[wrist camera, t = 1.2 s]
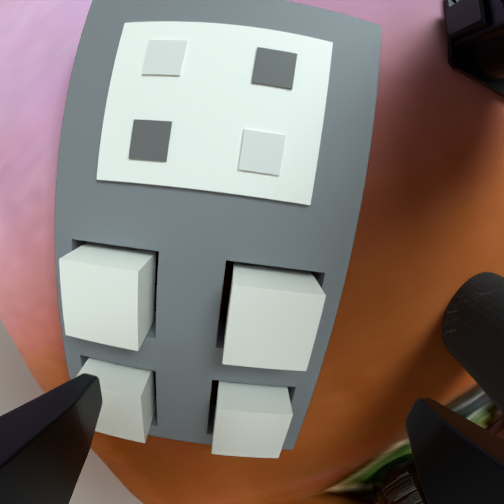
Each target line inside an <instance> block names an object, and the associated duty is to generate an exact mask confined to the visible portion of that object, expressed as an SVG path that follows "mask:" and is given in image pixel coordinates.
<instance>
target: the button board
mask: <svg viewBox="0 0 504 504" xmlns="http://www.w3.org/2000/svg"><path fill="white" fill-rule="evenodd" d="M380 46H381V26H380V25H377V24H374V23H371V22H368V21H365V20H362V19H359V18H355V17H352V16H349V15H345V14H342V13H338V12H334V11H330V10H326V9H322V8H318V7H314V6H309V5H304V4H300V3H295V2H289V1H284V0H93V1H92V4H91V6H90V9H89V12H88V15H87V18H86V22H85V25H84V28H83V31H82V35H81V38H80V42H79V46H78V49H77V53H76V57H75V61H74V65H73V70H72V74H71V79H70V83H69V88H68V93H67V99H66V104H65V110H64V116H63V123H62V130H61V137H60V146H59V155H58V166H57V179H56V196H55V263H56V280H57V293H58V304H59V314H60V322H61V330H62V337H63V344H64V350H65V356H66V362H67V367H68V372H69V377H70V380H71V379H73V378H75V377H76V376H77V375H78V373H79V372H80V370H81V369H82V367H83V366H84V364H85V363H86V361H87V360H88V358H89V357H91V358H96V359H100V360H104V361H108V362H113V363H117V364H122V365H127V366H132V367H136V368H142V369H147V370H152V371H156V396H154V397H155V412H154V415H153V418H152V422H151V425H150V428H149V432H148V435H151V436H156V437H161V438H167V439H173V440H179V441H186V442H193V443H200V444H208V445H212V441H213V428H214V417H215V408H216V405H210V396H211V387H212V380H219V381H228V382H238V383H248V384H260V385H273V386H287V388H288V393H289V398H290V403H291V407H292V412H293V416H292V419H291V422H290V425H289V428H288V431H287V434H286V437H285V440H284V443H283V446H282V449H283V450H293V447H294V445H295V442H296V439H297V437H298V434H299V431H300V429H301V426H302V423H303V420H304V417H305V415H306V412H307V409H308V406H309V403H310V400H311V397H312V394H313V391H314V388H315V385H316V382H317V379H318V375H319V372H320V369H321V366H322V363H323V359H324V356H325V353H326V349H327V346H328V342H329V339H330V335H331V332H332V328H333V325H334V321H335V317H336V313H337V310H338V306H339V302H340V298H341V294H342V290H343V286H344V282H345V278H346V274H347V269H348V265H349V261H350V256H351V252H352V247H353V242H354V238H355V233H356V228H357V223H358V218H359V213H360V207H361V202H362V196H363V191H364V185H365V179H366V173H367V166H368V160H369V153H370V146H371V139H372V131H373V123H374V115H375V106H376V96H377V86H378V75H379V62H380ZM87 242H92V243H95V242H96V243H103V244H110V245H117V246H125V247H132V248H139V249H146V250H154V251H159V258H158V276H157V300H156V312H154V321H153V323H152V325H151V327H150V329H149V331H148V333H147V335H146V337H145V339H144V341H143V343H142V345H141V347H140V349H139V351H135V350H130V349H125V348H120V347H115V346H110V345H106V344H101V343H97V342H92V341H88V340H84V339H80V338H76V337H72V336H68V335H66V334H65V326H64V318H63V309H62V298H61V285H60V268H59V259H60V258H61V257H63V256H65V255H66V254H68V253H70V252H71V251H73V250H75V249H77V248H78V247H80V246H82V245H83V244H85V243H87ZM226 260H228V261H236V262H244V263H252V264H260V265H267V266H275V267H283V268H291V269H299V270H307V271H310V272H311V273H312V274H313V276H314V277H315V279H316V280H317V282H318V284H319V285H320V287H321V288H322V290H323V291H324V293H325V295H326V298H325V302H324V306H323V310H322V314H321V318H320V322H319V326H318V330H317V334H316V338H315V341H314V345H313V349H312V352H311V356H310V360H309V363H308V367H307V370H306V371H295V370H279V369H266V368H255V367H244V366H235V365H226V364H222V361H223V348H224V335H225V326H226V322H220V321H219V315H220V306H221V298H222V290H223V282H224V274H225V266H226Z"/></svg>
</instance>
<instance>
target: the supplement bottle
mask: <svg viewBox="0 0 504 504" xmlns="http://www.w3.org/2000/svg"><path fill="white" fill-rule="evenodd" d="M372 488H373V491H374V494H375V496H376V499H377V502H378V504H428V503H427V500H426V497H425V493H424V490H423V487H422V484H421V481H420V478H419V475H418V472H417V469H416V466H415V462H414V458H413V454H409V455H406V456H403V457H401V458H399V459H397V460H395V461H393V462H391V463H390V464H388V465H387V466H385V467H384V468H383V469H382V470H380V471H379V472H378V473H377V475H376V476H375V478H374V479H373V482H372Z"/></svg>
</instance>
